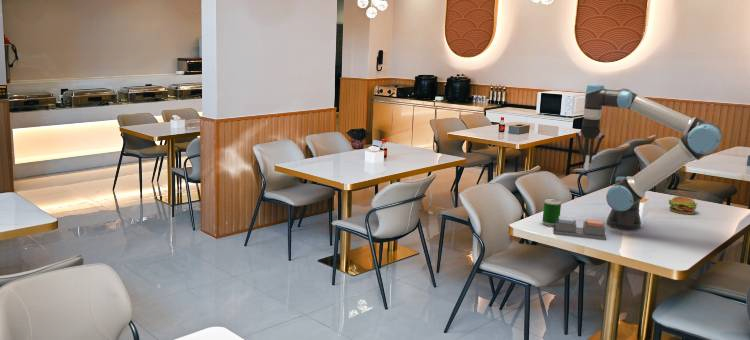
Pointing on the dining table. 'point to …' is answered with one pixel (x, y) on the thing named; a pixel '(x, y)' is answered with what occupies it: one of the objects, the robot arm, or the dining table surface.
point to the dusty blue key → (566, 220)
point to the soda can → (551, 211)
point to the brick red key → (594, 223)
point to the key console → (579, 230)
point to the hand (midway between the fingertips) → (586, 169)
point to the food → (682, 205)
